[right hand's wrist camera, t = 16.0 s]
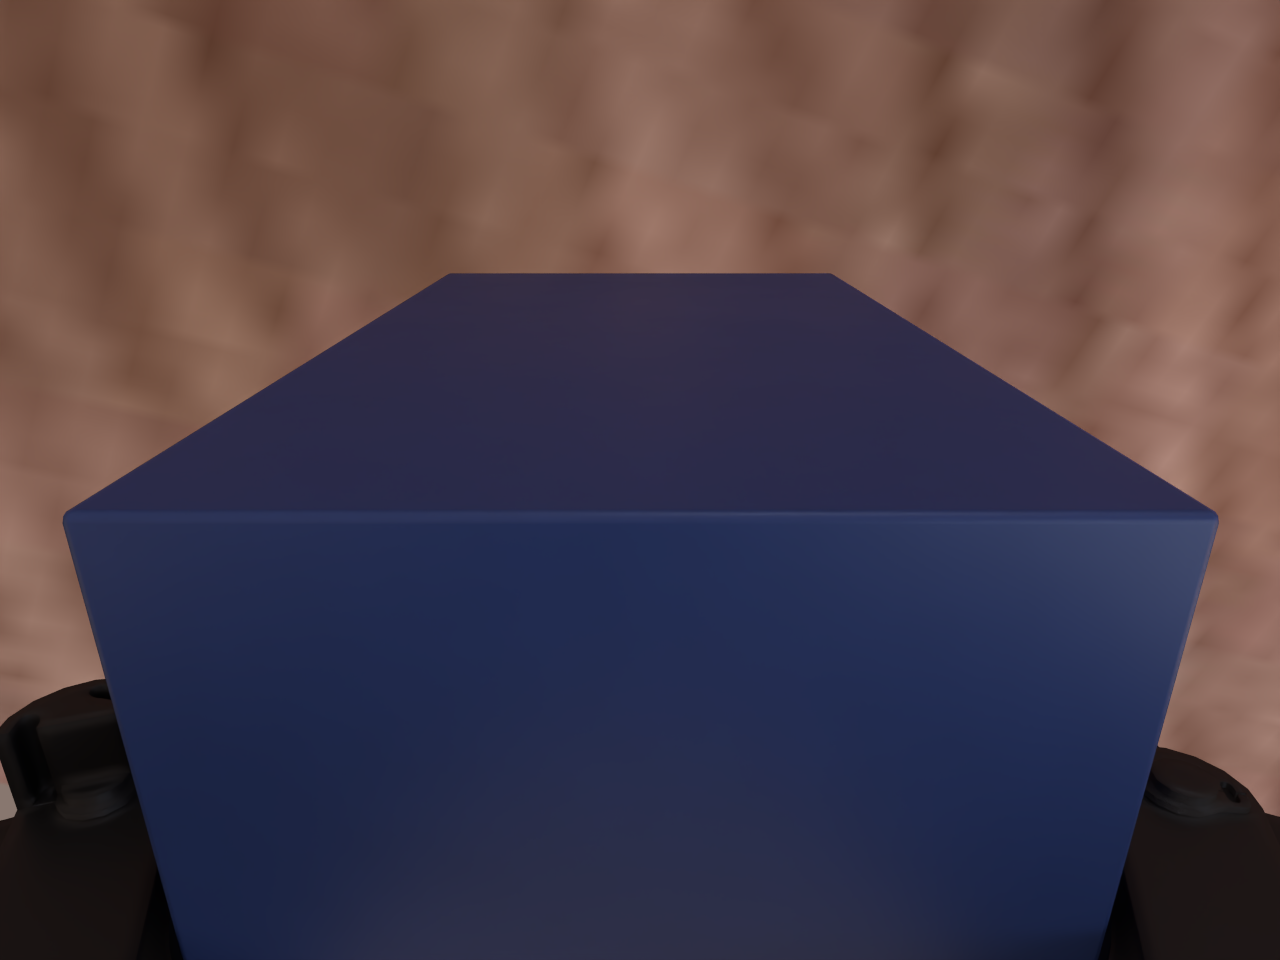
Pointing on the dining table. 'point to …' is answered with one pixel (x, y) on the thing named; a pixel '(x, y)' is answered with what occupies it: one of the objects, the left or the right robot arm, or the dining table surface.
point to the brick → (640, 638)
